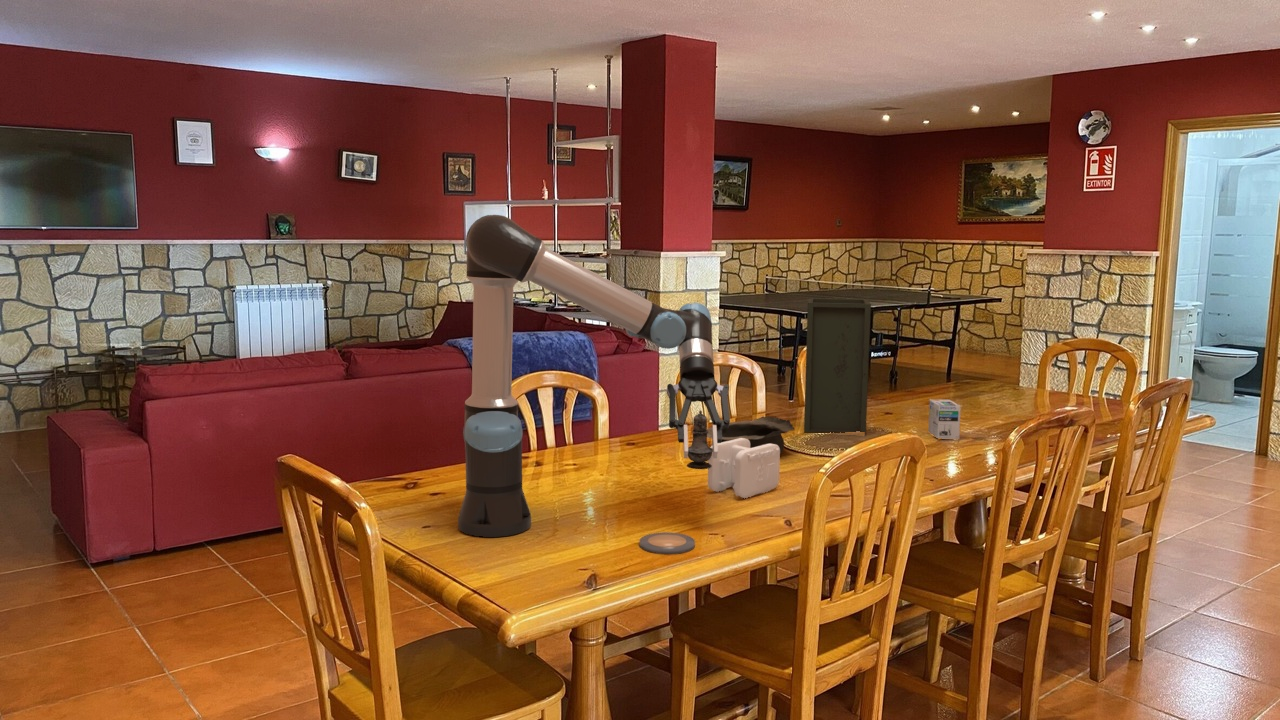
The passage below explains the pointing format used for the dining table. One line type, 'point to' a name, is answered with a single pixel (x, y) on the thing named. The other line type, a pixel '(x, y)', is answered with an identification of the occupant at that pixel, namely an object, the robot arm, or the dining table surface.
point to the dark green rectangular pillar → (837, 365)
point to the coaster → (667, 543)
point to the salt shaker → (699, 444)
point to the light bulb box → (944, 419)
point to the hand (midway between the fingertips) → (700, 454)
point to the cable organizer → (744, 468)
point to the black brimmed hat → (757, 431)
